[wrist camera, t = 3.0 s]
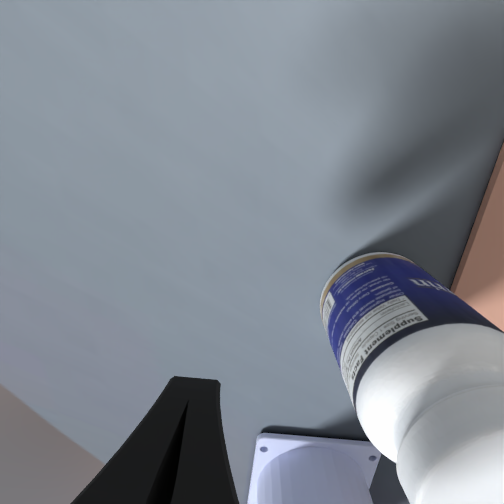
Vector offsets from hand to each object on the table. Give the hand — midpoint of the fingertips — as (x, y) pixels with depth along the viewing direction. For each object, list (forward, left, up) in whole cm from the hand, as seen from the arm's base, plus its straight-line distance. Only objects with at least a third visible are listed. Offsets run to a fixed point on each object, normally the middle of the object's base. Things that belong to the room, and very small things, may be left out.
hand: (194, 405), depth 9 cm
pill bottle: (0, -8, -8) cm, 11 cm away
